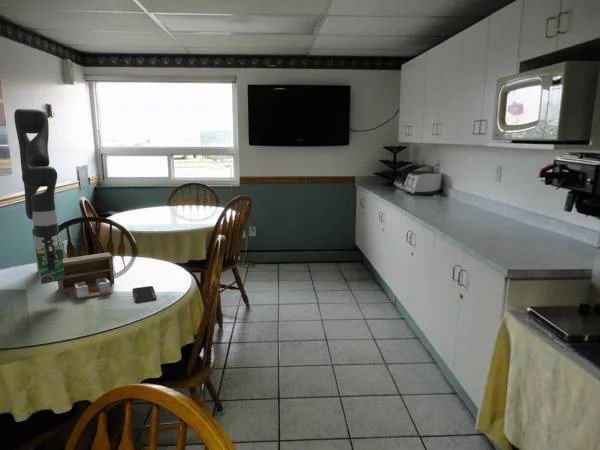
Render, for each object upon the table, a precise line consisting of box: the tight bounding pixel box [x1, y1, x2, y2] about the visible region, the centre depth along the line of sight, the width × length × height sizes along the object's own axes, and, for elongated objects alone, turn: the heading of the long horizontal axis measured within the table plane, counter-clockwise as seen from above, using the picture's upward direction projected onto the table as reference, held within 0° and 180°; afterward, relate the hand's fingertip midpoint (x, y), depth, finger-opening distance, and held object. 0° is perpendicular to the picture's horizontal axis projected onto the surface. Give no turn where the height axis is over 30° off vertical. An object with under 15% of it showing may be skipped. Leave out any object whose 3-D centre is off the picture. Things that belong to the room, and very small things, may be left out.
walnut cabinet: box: [57, 251, 115, 301], centre depth 172 cm, size 18×20×12 cm
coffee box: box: [34, 244, 65, 285], centre depth 158 cm, size 8×3×13 cm, turn 126°
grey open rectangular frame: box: [74, 278, 112, 298], centre depth 168 cm, size 6×12×4 cm, turn 126°
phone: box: [132, 285, 157, 304], centre depth 168 cm, size 8×1×15 cm
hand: (51, 268), depth 158 cm, fingers closed on coffee box, 3 cm apart
